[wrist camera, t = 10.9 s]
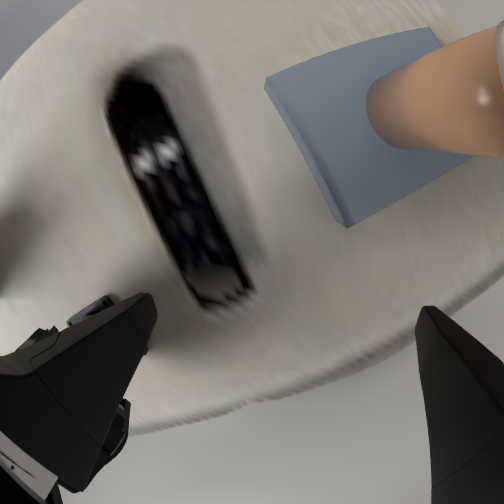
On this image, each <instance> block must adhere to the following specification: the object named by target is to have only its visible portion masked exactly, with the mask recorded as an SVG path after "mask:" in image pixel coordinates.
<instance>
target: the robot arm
mask: <svg viewBox="0 0 504 504" xmlns="http://www.w3.org/2000/svg"><path fill="white" fill-rule="evenodd" d="M104 301H106V302H107V303H105V302H104ZM157 315H158V314H157V309H156V306H155V303H154V300H153V297H152V295H151V294H150V293H143V292H140V293H138V294H136V295H134V296H132V297H129V298H127V299H125V300H123V301H121V302H119V303H117V304H115V305H114V303H113V302H112V301H111V299H110V298H109V297H107V296H103V297H102V298H100V299H98V300H97V301H95V302H94V303H92V304H91V305H89V306H88V307H86V308H84V309H83V310H81V311H80V312H78V313H77V314H75V315H74V316H72V317H71V318H69V319H68V321H67V325H68V326H69V327H68V328H66V329H64V330H62V331H60V332H58V329H57V328H56V327H55V326H53V327H52V328H51V329H50V330H48V329H46V330H43V329H41V328H38V329H37V330H36V331H35V332H34V333H33V334H32V335H31V336H30V337H29V338H28V339H27V340H26V341H25V342H24V343H23V344H22V345H21V346H20V347H19V348H18V349H17V350H16V351H15V352H13V353H11V354H8V355H5V356H0V504H63V501H62V498H61V494H60V490H59V487H58V485H61V486H62V487H64V488H65V489H67V490H68V491H70V492H72V493H77V492H80V491H81V492H83V491H84V490H85V489H86V488H87V486H88V485H89V483H90V482H91V481H92V479H93V478H94V476H95V475H96V474H97V473H98V472H99V471H100V470H101V469H102V467H103V466H105V465H106V464H107V463H109V462H110V461H111V460H112V459H113V458H115V457H116V456H117V455H118V454H119V453H120V451H121V450H122V449H123V447H124V445H125V443H126V441H127V437H128V429H129V417H130V406H131V403H130V402H129V401H128V400H127V399H124V398H123V396H124V394H125V392H126V390H127V388H128V386H129V383H130V381H131V379H132V377H133V375H134V373H135V371H136V369H137V367H138V365H139V362H140V360H141V358H142V356H144V355H146V354H147V352H148V347H147V344H148V341H149V338H150V336H151V333H152V330H153V328H154V325H155V322H156V320H157ZM415 336H416V344H417V354H418V364H419V374H420V379H421V385H422V390H423V397H424V403H425V410H426V417H427V426H428V435H429V445H430V458H431V479H432V480H431V482H432V489H431V492H432V493H431V494H432V495H431V502H432V503H431V504H504V363H503V362H502V361H501V360H500V359H499V358H498V357H497V356H495V355H494V354H493V353H492V352H491V351H489V350H488V349H487V348H486V347H485V346H484V345H482V344H481V343H480V342H479V341H478V340H477V339H475V338H474V337H473V336H472V335H470V334H469V333H468V332H467V331H465V330H464V329H463V328H462V327H461V326H459V325H458V324H457V323H456V322H454V321H453V320H452V319H451V318H449V317H448V316H447V315H446V314H444V313H443V312H442V311H441V310H439V309H438V308H437V307H435V306H423V307H422V309H421V311H420V314H419V317H418V320H417V323H416V327H415Z"/></svg>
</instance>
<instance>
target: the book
mask: <svg viewBox="0 0 504 504" xmlns="http://www.w3.org/2000/svg"><path fill="white" fill-rule="evenodd" d="M439 48H441V45H440V43H439V42H438V40H437V38H436V37H435V35H434V33H433V32H432V30H431V29H430V27H426V28H420V29H415V30H410V31H405V32H400V33H395V34H391V35H387V36H383V37H379V38H375V39H371V40H367V41H364V42H360V43H357V44H353V45H350V46H347V47H344V48H341V49H338V50H335V51H332V52H329V53H326V54H323V55H320V56H318V57H315V58H312V59H310V60H307V61H305V62H302V63H299V64H297V65H295V66H292V67H290V68H287V69H285V70H283V71H280V72H278V73H276V74H274V75H271V76H269V77H267V78H266V82H265V86H264V89H265V91H266V92H267V94H268V96H269V97H270V99H271V101H272V102H273V104H274V105H275V107H276V109H277V110H278V112H279V114H280V116H281V117H282V119H283V121H284V122H285V124H286V126H287V128H288V129H289V131H290V133H291V135H292V136H293V138H294V140H295V142H296V143H297V145H298V147H299V149H300V151H301V153H302V154H303V156H304V158H305V160H306V162H307V164H308V166H309V168H310V169H311V171H312V173H313V175H314V177H315V179H316V181H317V183H318V185H319V187H320V189H321V191H322V193H323V195H324V197H325V199H326V201H327V203H328V205H329V207H330V210H331V212H332V214H333V216H334V218H335V220H336V221H337V222H339V223H340V224H342V225H343V226H345V227H346V228H349V227H351V226H353V225H355V224H356V223H358V222H360V221H362V220H364V219H365V218H367V217H369V216H371V215H373V214H374V213H376V212H378V211H380V210H381V209H383V208H385V207H387V206H388V205H390V204H392V203H394V202H395V201H397V200H399V199H401V198H402V197H404V196H406V195H408V194H409V193H411V192H413V191H415V190H416V189H418V188H420V187H421V186H423V185H425V184H427V183H428V182H430V181H432V180H433V179H435V178H437V177H439V176H440V175H442V174H444V173H445V172H447V171H449V170H450V169H452V168H454V167H455V166H457V165H459V164H460V163H462V162H464V161H465V160H467V159H469V158H470V157H472V156H473V155H470V154H461V153H451V152H440V151H426V150H408V149H399V148H395V147H393V146H391V145H389V144H387V143H386V142H385V141H383V140H382V139H381V138H380V137H379V136H378V134H377V133H376V132H375V130H374V129H373V127H372V125H371V123H370V121H369V118H368V115H367V110H366V98H367V93H368V91H369V88H370V87H371V85H372V84H373V83H374V82H375V81H376V80H377V79H379V78H380V77H382V76H384V75H386V74H388V73H390V72H391V71H393V70H395V69H397V68H399V67H401V66H403V65H405V64H407V63H409V62H411V61H413V60H415V59H417V58H420V57H422V56H424V55H426V54H428V53H430V52H432V51H435V50H437V49H439Z"/></svg>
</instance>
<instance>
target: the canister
mask: <svg viewBox="0 0 504 504" xmlns="http://www.w3.org/2000/svg"><path fill="white" fill-rule="evenodd" d="M366 110H367V115H368V118H369V121H370V123H371V125H372V127H373V129H374V130H375V132H376V133H377V134H378V136H379V137H380V138H381V139H382V140H383V141H385V142H386V143H387V144H389V145H391V146H393V147H395V148H399V149H408V150H426V151H440V152H451V153H461V154H470V155H478V156H486V157H493V158H499V159H504V20H503V21H501V22H500V23H499V25H497V26H494V27H491V28H489V29H486V30H483V31H481V32H478V33H475V34H473V35H470V36H468V37H465V38H462V39H460V40H458V41H455V42H453V43H450V44H448V45H446V46H444V47H441V48H439V49H437V50H435V51H432V52H430V53H428V54H426V55H424V56H422V57H420V58H417V59H415V60H413V61H411V62H409V63H407V64H405V65H403V66H401V67H399V68H397V69H395V70H393V71H391V72H390V73H388V74H386V75H384V76H382V77H380V78H379V79H377V80H376V81H375V82H374V83H373V84H372V85H371V87H370V88H369V91H368V93H367V98H366Z"/></svg>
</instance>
